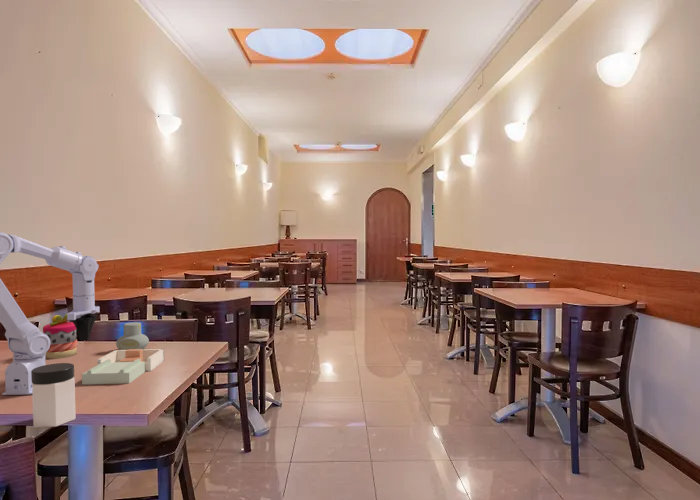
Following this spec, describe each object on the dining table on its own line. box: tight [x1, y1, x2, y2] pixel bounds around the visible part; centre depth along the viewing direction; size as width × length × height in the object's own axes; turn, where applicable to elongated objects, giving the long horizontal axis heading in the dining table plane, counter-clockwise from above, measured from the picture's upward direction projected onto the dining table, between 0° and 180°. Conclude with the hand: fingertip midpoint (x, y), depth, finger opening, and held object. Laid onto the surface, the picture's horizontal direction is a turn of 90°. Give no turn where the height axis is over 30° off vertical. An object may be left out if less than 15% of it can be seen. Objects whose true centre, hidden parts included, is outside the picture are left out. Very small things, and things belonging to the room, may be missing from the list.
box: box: [96, 348, 165, 372], centre depth 148 cm, size 12×16×4 cm
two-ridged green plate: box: [81, 359, 147, 386], centre depth 136 cm, size 12×13×4 cm
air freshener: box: [115, 321, 150, 350], centre depth 170 cm, size 11×8×10 cm
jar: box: [31, 362, 76, 429], centre depth 104 cm, size 9×8×12 cm
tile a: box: [119, 357, 140, 362], centre depth 146 cm, size 4×4×2 cm
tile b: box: [125, 349, 144, 362], centre depth 150 cm, size 4×4×2 cm
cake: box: [42, 313, 79, 360], centre depth 164 cm, size 10×11×15 cm
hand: (84, 339), depth 140 cm, fingers closed
